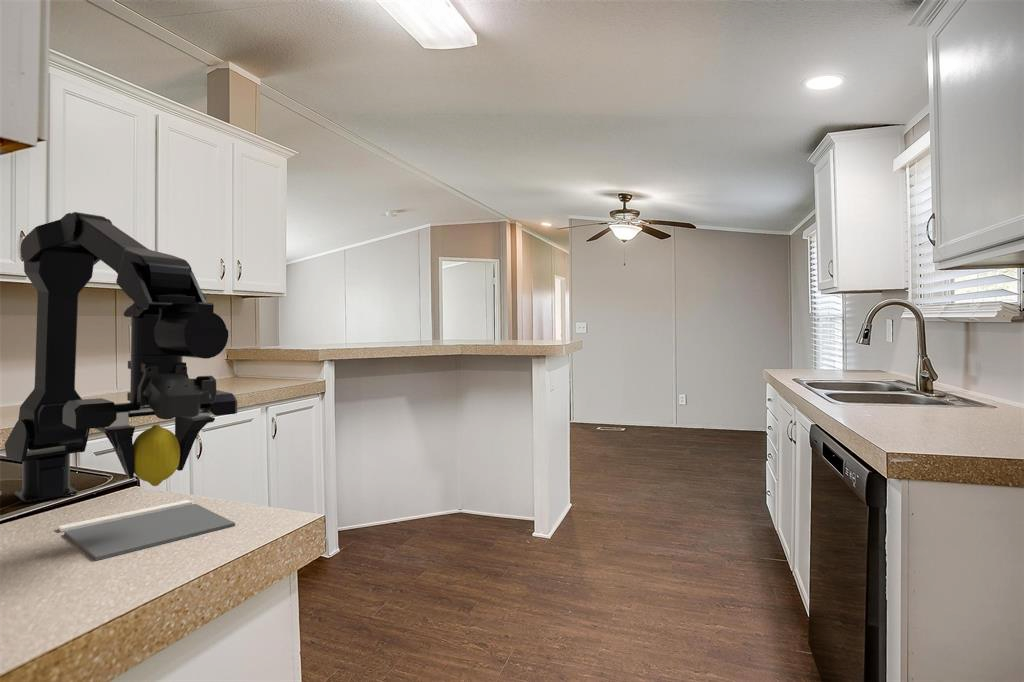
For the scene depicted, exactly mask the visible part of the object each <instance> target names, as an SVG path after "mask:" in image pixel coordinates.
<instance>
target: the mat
mask: <svg viewBox="0 0 1024 682" xmlns="http://www.w3.org/2000/svg"><path fill="white" fill-rule="evenodd" d="M235 526H236V522H234V521H232V520H230V519H228V518H226V517H224V516H223V515H220V514H218V513H216V512H213V511H212V510H210V509H208V508H206V507H203V506H202V505H199V504H198V503H192V505H187V506H182V507H178V508H173V509H168V510H163V511H159V512H154V513H149V514H144V515H140V516H135V517H130V518H125V519H121V520H116V521H111V522H106V523H102V524H97V525H92V526H87V527H82V528H78V529H73V530H68V531H64V532H63V535H64V536H66V537H67V538H68V539H69V540H70V541H71V542H73V543H74V544H75V545H76V546H78V547H79V548H80V549H81V550H83V551H84V552H85V553H86V554H87V555H88V556H90V557H91V558H92V559H94V560H95V561H99V560H104V559H107V558H111V557H116V556H119V555H123V554H127V553H132V552H136V551H140V550H143V549H144V550H145V549H148V548H152V547H156V546H160V545H164V544H168V543H172V542H176V541H179V540H184V539H188V538H191V537H196V536H199V535H204V534H207V533H212V532H216V531H219V530H224V529H227V528H231V527H235Z"/></svg>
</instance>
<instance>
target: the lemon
mask: <svg viewBox="0 0 1024 682" xmlns="http://www.w3.org/2000/svg"><path fill="white" fill-rule="evenodd" d="M133 455H134V476H136V477H137V478H138V479H139V480H142V481H144V482H147V483H149V484H150V485H151V486H153V487H157V486H159V485H160V484H161V483H162V482H164V481H165V480H168V478H170V477H171V476H173V474H175V472H176V471H177V467H178V465H179V461H180V446H179V442H178V440H177V438H176V436H175V433H174V432H172V431H171V430H169V429H167V428H164V427H162V426H161V425H160V424H155V425H154V424H153V425H152V426H151V427H150V428H147V429H145V430H144V431H142V432H141V433H140V434H139V435H138V436H136V438H135V440H134V441H133Z"/></svg>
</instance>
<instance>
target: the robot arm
mask: <svg viewBox="0 0 1024 682" xmlns="http://www.w3.org/2000/svg"><path fill="white" fill-rule="evenodd" d="M19 249H20V250H19V251H20V256H21V259H22V260H23V269H24V271H23V272H24V273H25V275H26V276H27V279H28V280H29V281H30V283H31V284H32V286H33V287H34V288H35V289H36V291H37V303H36V304H37V305H36V306H37V307H36V309H37V310H36V330H35V331H36V332H35V333H36V335H35V361H34V362H35V364H34V365H35V368H34V369H35V370H34V387H33V390H31V392H30V393H29V395H28V396H27V398H26V399H25V400H24V401H23V402H22V403H21V405H20V407H19V413H18V419H17V420H16V423H15V424H14V426H13V428H12V430H11V432H10V433H9V435H8V437H7V439H6V440H5V442H4V450H5V457H6V459H9V460H13V461H16V462H19V463H21V462H22V467H21V468H22V469H21V470H22V474H21V475H22V480H21V481H22V485H21V486H22V487H21V488H22V489H20V490H16V491H14V496H16V497H17V498H18V499H19V500H21V501H22V500H23V501H24V502H29V503H31V502H30V501H35V502H37V501H36V500H41V501H44V500H43V499H47V500H49V499H48V498H52V499H55V498H54V497H58V498H60V497H59V496H64V497H66V496H65V495H70V496H72V495H71V494H75V495H77V494H76V493H78V491H79V490H77V489H76V488H75V487H73V486H71V483H70V482H71V477H70V474H71V473H70V472H71V454H74V453H85V452H86V448H87V445H88V439H89V435H90V434H89V433H90V429H95V430H98V431H100V432H102V433H104V435H105V436H106V437H107V439H108V441H109V442H110V444H111V446H112V448H113V450H114V452H115V454H116V456H117V458H118V460H119V463H120V465H121V467H122V469H123V471H124V473H125V476H126V478H127V479H129V480H132V479H134V476H135V473H134V455H133V443H134V441H133V438H134V434H135V430H136V426H134V425H130V424H129V422H130V421H129V419H130V418H136V417H147V416H149V417H150V416H156V417H157V418H158V419H161V420H172V419H174V435H175V436H176V438H177V440H178V442H179V446H180V461H179V465H178V467H177V469H176V471H177V472H178V471H180V472H181V471H183V470H184V468H185V466H186V464H187V463H186V462H187V460H188V457H189V455H190V453H191V450H192V447H193V446H194V443H195V440H196V439H197V437H198V435H199V433H200V432H201V430H202V429H204V427H205V426H206V425H208V424H210V423H214V422H215V420H216V418H215V417H212V416H211V414H213V416H216V417H217V416H227V415H228V416H229V415H236V414H238V400H237V398H236V396H235V395H234V394H233V393H232V392H228V391H223V390H218V389H217V379H216V378H215V377H214V376H213V375H199V376H197V377H196V378H190V376H189V375H188V367H187V362H184V361H183V357H185V358H196V359H203V360H205V359H211V358H214V357H216V356H218V355H220V354H221V353H222V352H223V351H224V349H226V346H227V344H228V340H229V330H228V329H227V325H226V323H225V321H224V320H223V318H222V317H220V315H218V314H217V313H215V312H214V309H215V308H214V307H215V306H214V302H207V301H206V300H207V297H206V295H205V294H204V293H203V291H202V289H201V287H200V286H199V283H198V280H197V278H196V276H195V273H194V272H193V270H192V266H191V265H190V263H189V262H188V261H187V260H185V259H184V258H181V257H178V256H175V255H172V254H167V253H164V252H160V251H156V250H152V249H149V248H148V247H146V246H144V245H143V244H142V243H140V242H139V241H138V240H136V239H134V238H133V237H131V236H130V235H129V234H127V233H126V232H124V231H123V230H121V229H120V228H119V227H117V226H115V225H114V224H113V223H112V221H111V219H109V218H107V217H105V216H103V215H96V214H88V213H84V212H77V211H74V212H72V213H71V212H68V213H65V214H64V215H63V217H61V218H60V219H57V220H54V221H51V222H47V223H44V224H43V223H42V224H41V225H37V226H35V227H34V228H33V229H31V231H29V233H27V234H26V236H24V237H23V239H22V240H21V242H20V248H19ZM100 261H101V262H103V263H104V264H105V265H107V266H108V267H110V268H111V269H112V270H113V271H115V273H117V276H116V279H115V280H116V281H115V283H116V284H117V285H118V286H119V287H120V289H121V290H122V291H123V292H124V293H125V295H126V296H127V297H128V298H129V299H131V300H132V301H133V304H132V305H130V306H128V307H127V308H126V309H125V310H124V311H123V316H124V317H125V318H131V321H130V322H131V326H130V327H131V330H130V331H131V332H130V333H131V335H130V336H131V337H130V360H127V369H129V370H130V386H129V387H130V391H129V392H126V393H127V395H126V396H127V397H126V399H127V401H129V402H122V403H115V402H114V401H111V400H108V399H106V398H102V397H101V398H100V397H98V398H88V399H86V398H85V399H84V398H83V399H82V397H81V396H80V394H79V393H78V392H77V390H76V369H77V368H76V366H77V364H76V363H77V338H78V316H79V315H78V313H79V312H78V309H79V294H80V293H81V291H83V289H84V288H85V287H86V286H87V284H88V283H89V282H90V281H91V279H92V277H93V273H94V266H95V265H96V264H97V263H98V262H100ZM23 501H22V502H23ZM24 502H23V503H24Z"/></svg>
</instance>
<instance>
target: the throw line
mask: <svg viewBox="0 0 1024 682" xmlns="http://www.w3.org/2000/svg"><path fill="white" fill-rule="evenodd" d="M192 504H193V501H191V500H189V499H185V500H180V501H175V502H171V503H170V502H169V503H165V504H160V505H156V506H155V505H154V506H149V507H146V508H140V509H135V510H131V511H126V512H125V511H124V512H121V513H120V512H119V513H115V514H111V515H106V516H102V517H97V518H91V519H87V520H82V521H77V522H76V521H75V522H71V523H67V524H66V523H65V524H62V525H58V526H57V530H59V532H60V533H64V531H68V530H73V529H78V528H82V527H87V526H92V525H97V524H102V523H106V522H111V521H116V520H121V519H125V518H130V517H135V516H140V515H144V514H149V513H154V512H159V511H163V510H168V509H173V508H178V507H182V506H187V505H192Z"/></svg>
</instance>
